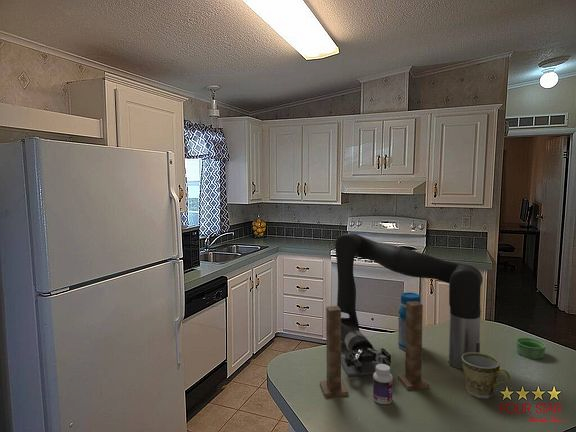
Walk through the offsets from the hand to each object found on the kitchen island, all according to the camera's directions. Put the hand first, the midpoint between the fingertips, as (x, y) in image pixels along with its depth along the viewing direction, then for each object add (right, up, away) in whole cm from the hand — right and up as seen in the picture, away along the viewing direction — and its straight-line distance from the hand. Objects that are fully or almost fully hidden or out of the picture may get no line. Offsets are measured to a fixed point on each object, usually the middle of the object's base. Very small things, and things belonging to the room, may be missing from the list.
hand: (374, 368), depth 116 cm
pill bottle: (+1, -7, -6) cm, 9 cm away
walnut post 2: (+12, -6, +3) cm, 14 cm away
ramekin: (+60, -3, +21) cm, 63 cm away
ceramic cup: (+31, -6, -4) cm, 32 cm away
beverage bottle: (+19, -3, +28) cm, 34 cm away
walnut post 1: (-12, -6, 0) cm, 14 cm away
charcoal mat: (-2, -5, +14) cm, 15 cm away
